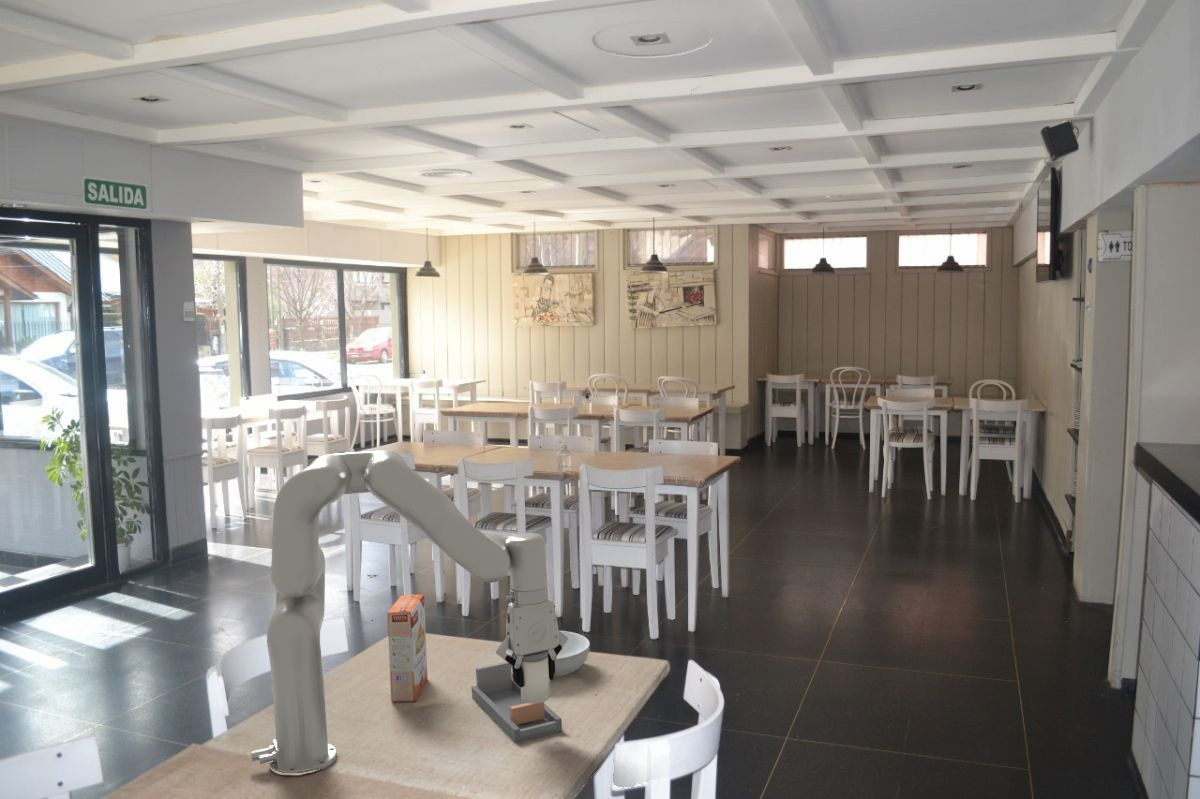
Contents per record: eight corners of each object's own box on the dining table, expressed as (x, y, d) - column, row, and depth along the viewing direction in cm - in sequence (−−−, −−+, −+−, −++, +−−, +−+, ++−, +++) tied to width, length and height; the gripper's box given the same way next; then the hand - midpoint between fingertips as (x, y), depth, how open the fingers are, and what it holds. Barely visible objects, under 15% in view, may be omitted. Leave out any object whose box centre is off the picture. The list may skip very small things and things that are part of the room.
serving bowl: (582, 689, 214) (581, 660, 213) (494, 687, 217) (492, 658, 217) (597, 656, 235) (596, 630, 234) (516, 655, 238) (514, 628, 237)
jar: (527, 706, 187) (524, 658, 186) (515, 695, 193) (513, 649, 192) (555, 699, 190) (553, 652, 189) (543, 689, 195) (540, 643, 195)
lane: (514, 742, 188) (513, 709, 187) (472, 698, 211) (470, 669, 211) (562, 730, 193) (560, 698, 192) (515, 688, 216) (513, 659, 215)
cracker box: (417, 702, 210) (412, 611, 208) (390, 703, 210) (385, 612, 208) (429, 678, 224) (425, 593, 222) (404, 679, 224) (399, 594, 222)
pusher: (512, 725, 193) (512, 708, 193) (503, 716, 198) (503, 700, 197) (544, 718, 196) (544, 701, 196) (535, 709, 201) (534, 693, 201)
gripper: (496, 607, 182) (501, 697, 184) (575, 592, 190) (580, 678, 191) (482, 598, 189) (488, 684, 190) (560, 583, 197) (565, 666, 198)
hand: (534, 680), depth 191 cm, fingers closed on jar, 6 cm apart
